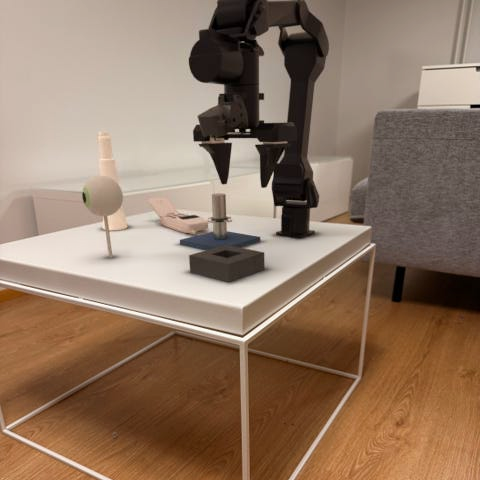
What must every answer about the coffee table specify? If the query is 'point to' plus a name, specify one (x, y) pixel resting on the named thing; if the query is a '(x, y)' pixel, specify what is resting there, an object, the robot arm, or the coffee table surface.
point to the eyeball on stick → (103, 200)
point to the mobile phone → (177, 217)
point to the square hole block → (226, 262)
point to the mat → (209, 242)
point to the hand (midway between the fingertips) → (243, 185)
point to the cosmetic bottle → (109, 170)
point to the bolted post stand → (219, 216)
